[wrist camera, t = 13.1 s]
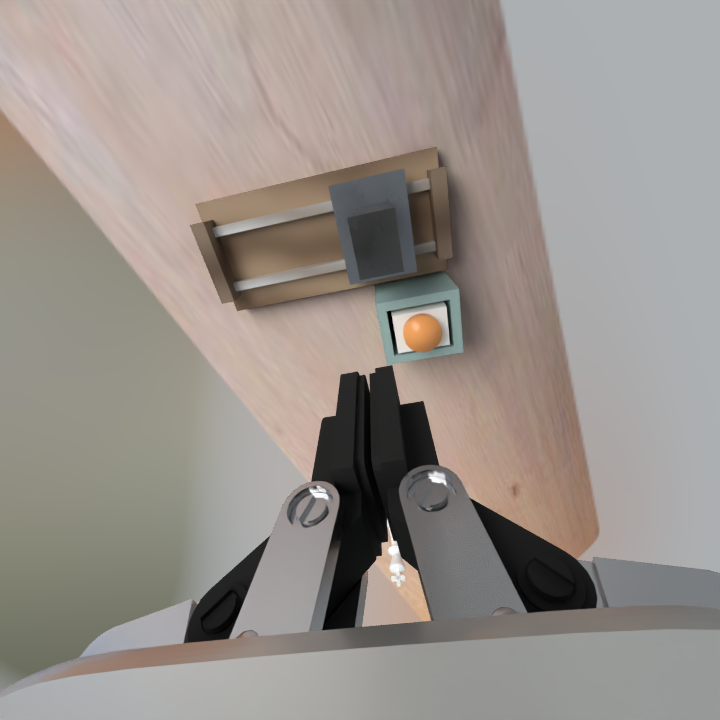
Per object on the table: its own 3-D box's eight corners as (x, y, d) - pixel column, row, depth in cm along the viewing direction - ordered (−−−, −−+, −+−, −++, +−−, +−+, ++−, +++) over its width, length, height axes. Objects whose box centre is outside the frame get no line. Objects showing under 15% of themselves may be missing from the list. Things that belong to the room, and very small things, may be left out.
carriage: (329, 185, 28) (315, 187, 20) (402, 168, 27) (415, 164, 20) (350, 281, 31) (344, 311, 24) (415, 268, 30) (429, 295, 23)
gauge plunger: (388, 298, 33) (392, 320, 28) (436, 289, 33) (448, 310, 27) (394, 331, 35) (399, 358, 30) (439, 323, 34) (452, 349, 29)
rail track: (200, 203, 31) (182, 206, 28) (436, 147, 28) (444, 143, 25) (240, 306, 35) (228, 318, 32) (446, 265, 33) (454, 274, 30)
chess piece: (411, 523, 51) (420, 595, 42) (379, 526, 52) (381, 598, 43) (408, 501, 49) (417, 572, 40) (374, 504, 49) (376, 575, 40)
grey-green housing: (374, 285, 34) (375, 304, 29) (444, 271, 33) (459, 288, 28) (384, 340, 37) (387, 366, 32) (449, 328, 36) (463, 354, 31)
